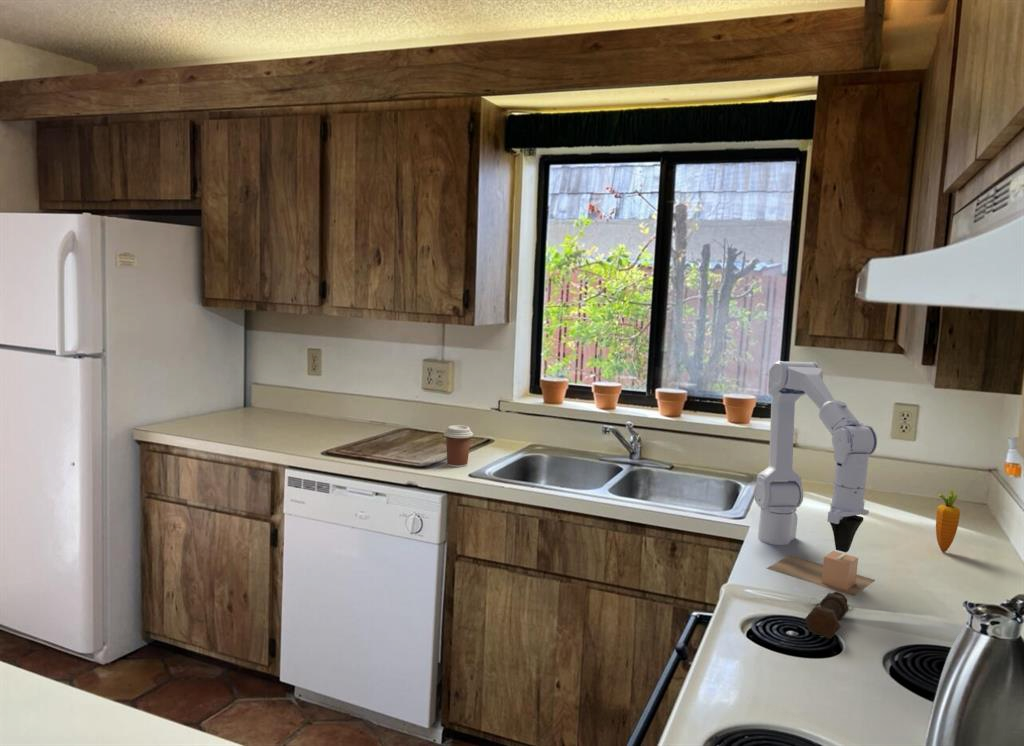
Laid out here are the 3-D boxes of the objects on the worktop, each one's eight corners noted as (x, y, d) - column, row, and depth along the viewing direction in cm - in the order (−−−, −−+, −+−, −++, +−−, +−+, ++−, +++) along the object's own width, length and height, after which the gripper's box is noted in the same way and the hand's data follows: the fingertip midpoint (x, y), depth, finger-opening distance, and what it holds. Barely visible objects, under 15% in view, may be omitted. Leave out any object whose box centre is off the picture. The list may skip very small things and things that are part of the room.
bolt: (840, 619, 146) (823, 646, 134) (818, 600, 148) (799, 625, 136) (860, 598, 144) (844, 623, 132) (837, 579, 146) (819, 602, 134)
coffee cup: (460, 460, 246) (462, 423, 244) (477, 466, 239) (479, 428, 237) (437, 463, 240) (438, 425, 239) (453, 469, 233) (454, 431, 232)
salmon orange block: (830, 576, 159) (833, 549, 158) (855, 583, 155) (858, 556, 155) (821, 582, 155) (824, 555, 154) (846, 590, 152) (849, 562, 151)
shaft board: (789, 561, 170) (791, 539, 170) (874, 586, 158) (876, 563, 158) (765, 574, 162) (768, 552, 161) (853, 602, 149) (856, 578, 149)
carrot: (948, 557, 178) (956, 495, 176) (927, 550, 182) (934, 489, 180) (959, 554, 181) (967, 492, 179) (938, 547, 185) (946, 487, 183)
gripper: (857, 496, 145) (849, 564, 146) (882, 483, 155) (875, 547, 157) (819, 487, 149) (812, 554, 151) (847, 476, 160) (840, 538, 162)
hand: (842, 550), depth 154 cm, fingers closed
